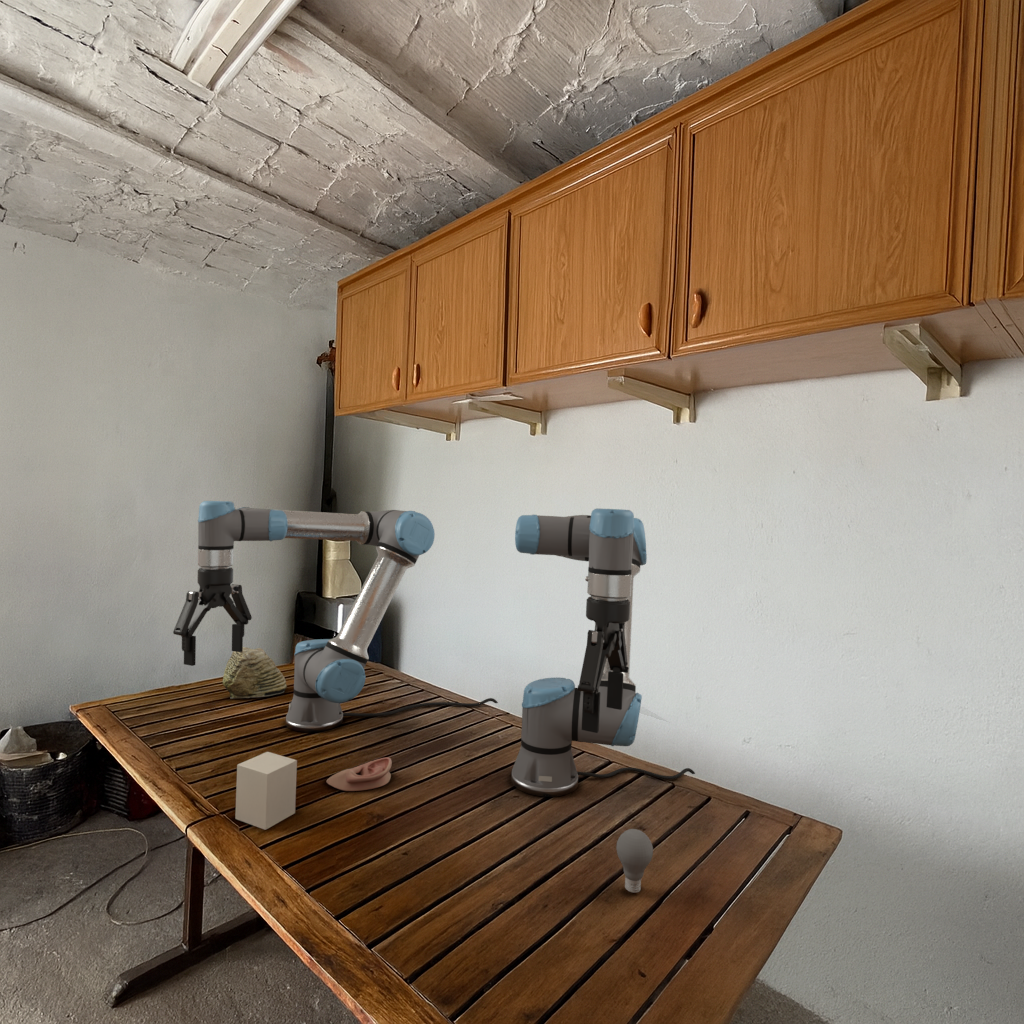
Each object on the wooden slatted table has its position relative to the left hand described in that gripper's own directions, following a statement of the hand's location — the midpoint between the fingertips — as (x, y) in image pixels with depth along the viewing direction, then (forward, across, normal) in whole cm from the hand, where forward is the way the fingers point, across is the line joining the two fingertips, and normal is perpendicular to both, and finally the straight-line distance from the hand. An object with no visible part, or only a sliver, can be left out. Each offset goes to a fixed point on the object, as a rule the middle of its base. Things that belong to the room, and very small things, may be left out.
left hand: (214, 657), depth 148 cm
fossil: (+25, -42, -28) cm, 56 cm away
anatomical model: (+25, -8, +36) cm, 44 cm away
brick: (+25, +14, +29) cm, 40 cm away
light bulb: (+25, +5, +100) cm, 103 cm away
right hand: (-2, +2, +93) cm, 93 cm away
